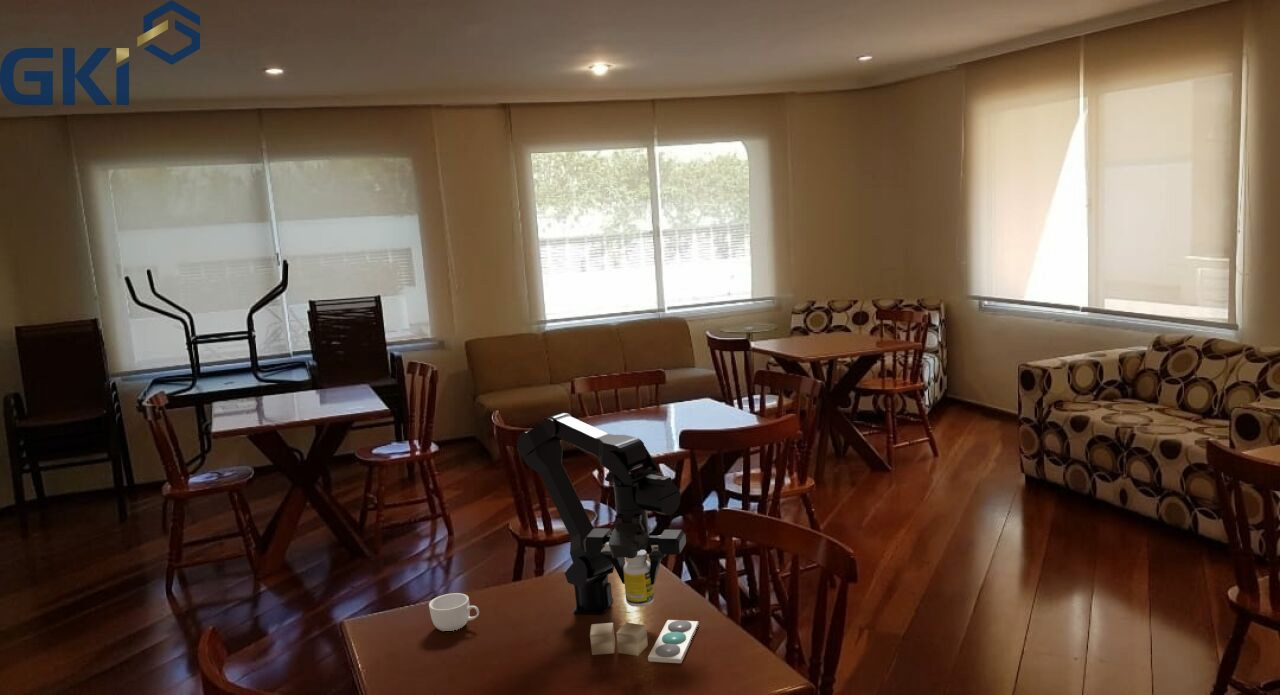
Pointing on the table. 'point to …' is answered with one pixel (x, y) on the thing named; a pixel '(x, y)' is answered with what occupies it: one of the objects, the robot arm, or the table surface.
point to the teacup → (451, 611)
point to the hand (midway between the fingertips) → (638, 583)
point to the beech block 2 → (632, 639)
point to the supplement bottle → (638, 580)
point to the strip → (673, 641)
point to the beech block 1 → (602, 638)
